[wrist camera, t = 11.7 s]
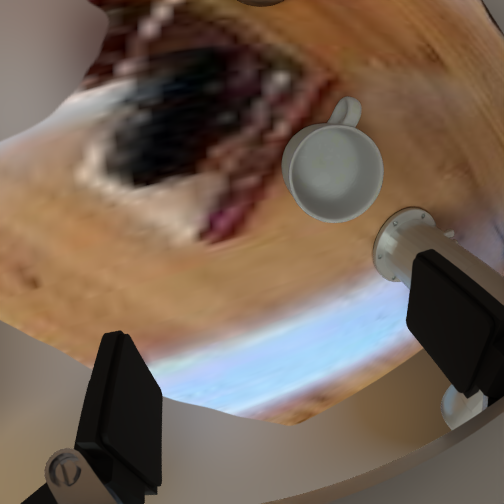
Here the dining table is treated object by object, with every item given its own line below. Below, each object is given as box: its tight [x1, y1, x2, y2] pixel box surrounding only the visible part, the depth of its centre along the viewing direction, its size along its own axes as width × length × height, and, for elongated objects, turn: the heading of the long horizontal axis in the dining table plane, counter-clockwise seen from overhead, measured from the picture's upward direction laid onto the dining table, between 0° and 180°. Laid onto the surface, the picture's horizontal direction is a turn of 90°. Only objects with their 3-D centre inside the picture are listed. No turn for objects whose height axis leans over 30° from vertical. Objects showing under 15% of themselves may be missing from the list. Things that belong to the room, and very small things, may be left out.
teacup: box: [282, 96, 384, 223], centre depth 34 cm, size 14×11×8 cm
